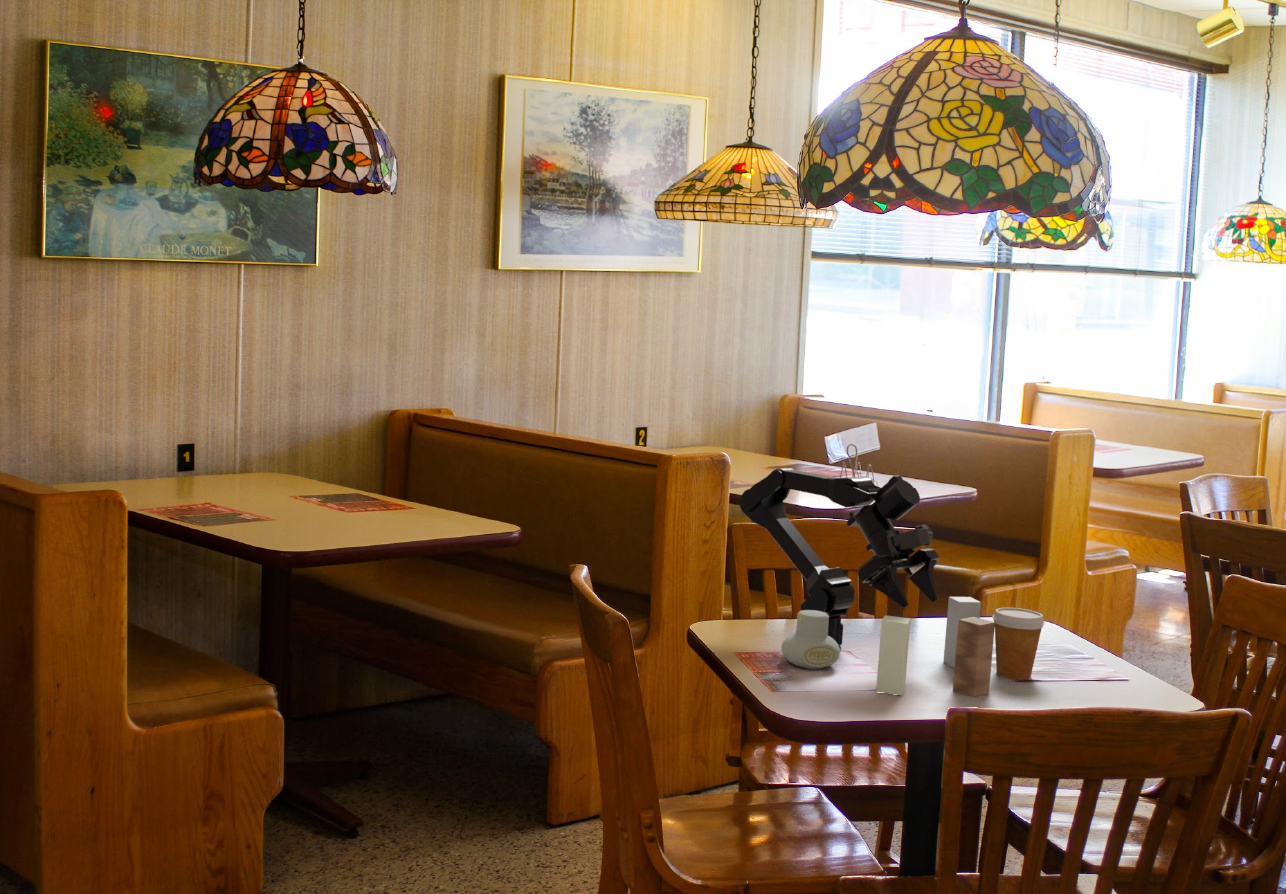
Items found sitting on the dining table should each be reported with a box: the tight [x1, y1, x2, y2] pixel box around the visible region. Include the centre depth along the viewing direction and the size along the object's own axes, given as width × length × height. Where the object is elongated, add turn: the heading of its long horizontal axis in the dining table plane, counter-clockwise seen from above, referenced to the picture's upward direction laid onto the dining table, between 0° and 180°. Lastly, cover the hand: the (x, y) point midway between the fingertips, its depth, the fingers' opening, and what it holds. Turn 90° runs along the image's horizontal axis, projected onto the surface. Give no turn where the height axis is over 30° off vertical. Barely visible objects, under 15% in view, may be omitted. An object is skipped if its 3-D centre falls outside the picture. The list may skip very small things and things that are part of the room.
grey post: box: [942, 596, 982, 670], centre depth 244 cm, size 4×4×13 cm
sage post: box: [875, 615, 911, 697], centre depth 224 cm, size 4×4×13 cm
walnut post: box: [952, 617, 995, 698], centre depth 226 cm, size 4×4×13 cm
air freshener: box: [781, 610, 841, 670], centre depth 238 cm, size 11×8×10 cm
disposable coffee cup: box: [991, 607, 1046, 680], centre depth 240 cm, size 10×10×12 cm
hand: (921, 603), depth 236 cm, fingers open, 9 cm apart
